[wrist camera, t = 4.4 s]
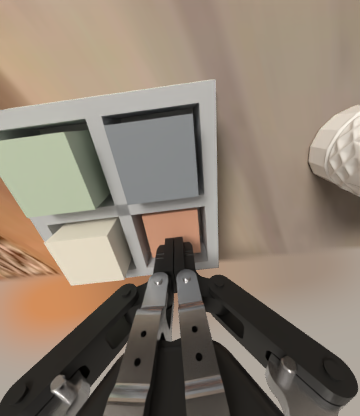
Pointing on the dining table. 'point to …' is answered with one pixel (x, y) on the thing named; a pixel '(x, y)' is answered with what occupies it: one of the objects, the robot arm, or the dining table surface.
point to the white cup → (339, 150)
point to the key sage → (53, 173)
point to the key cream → (91, 251)
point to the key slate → (155, 158)
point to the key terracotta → (172, 227)
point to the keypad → (115, 202)
